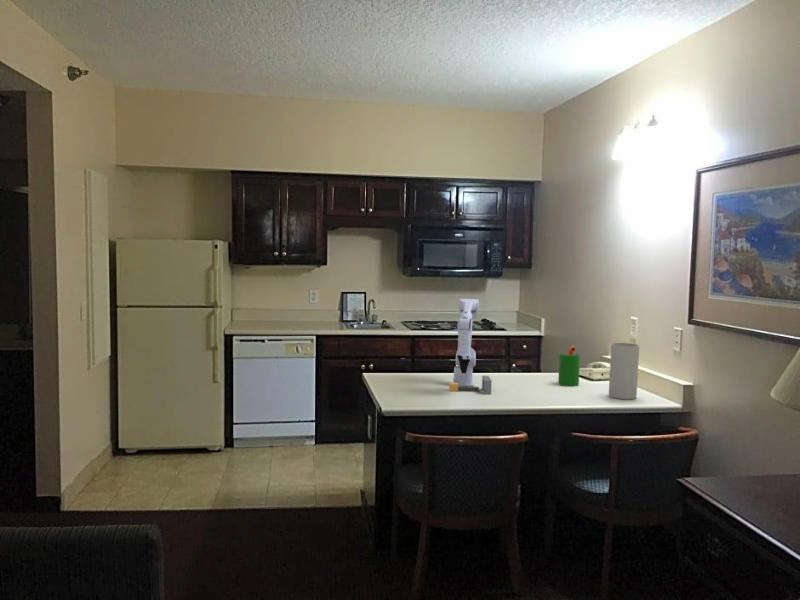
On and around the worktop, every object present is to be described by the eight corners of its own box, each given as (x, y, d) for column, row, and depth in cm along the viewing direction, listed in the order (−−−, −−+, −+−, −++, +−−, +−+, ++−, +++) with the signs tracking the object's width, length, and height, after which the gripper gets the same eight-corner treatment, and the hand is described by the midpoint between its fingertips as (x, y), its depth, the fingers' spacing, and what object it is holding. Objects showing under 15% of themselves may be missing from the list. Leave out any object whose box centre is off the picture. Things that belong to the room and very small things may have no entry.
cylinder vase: (604, 393, 317) (607, 342, 315) (629, 394, 318) (632, 342, 316) (614, 399, 305) (617, 346, 303) (640, 400, 306) (643, 347, 303)
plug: (449, 391, 314) (449, 384, 314) (449, 389, 318) (449, 382, 318) (478, 392, 314) (479, 384, 314) (477, 390, 318) (478, 383, 318)
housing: (484, 393, 310) (485, 380, 310) (481, 388, 322) (482, 375, 321) (491, 394, 310) (491, 380, 310) (487, 388, 322) (488, 375, 321)
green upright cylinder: (572, 382, 342) (574, 344, 340) (582, 385, 334) (584, 347, 332) (555, 383, 339) (557, 344, 337) (565, 386, 331) (567, 347, 329)
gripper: (473, 346, 307) (472, 374, 308) (471, 341, 321) (470, 368, 322) (458, 345, 307) (457, 374, 308) (456, 341, 321) (455, 368, 322)
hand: (463, 371), depth 315 cm, fingers open, 7 cm apart
